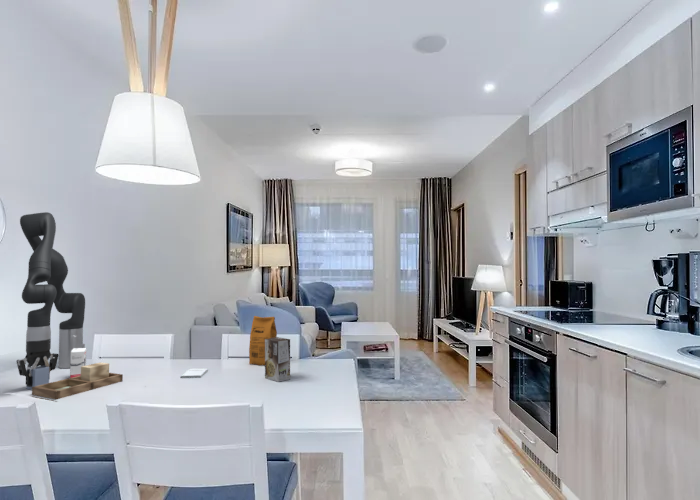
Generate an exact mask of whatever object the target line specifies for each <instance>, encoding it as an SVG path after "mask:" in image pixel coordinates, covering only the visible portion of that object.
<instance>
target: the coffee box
mask: <svg viewBox="0 0 700 500" xmlns="http://www.w3.org/2000/svg"><path fill="white" fill-rule="evenodd" d="M264 378H265V379H267V380H270V381H275V382H277V383H279V382H283V381H287V380H290V379H291V339H289V338H285V337H278V336H277V337H274V338H269V339H265V365H264Z"/></svg>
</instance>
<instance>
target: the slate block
mask: <svg viewBox="0 0 700 500" xmlns="http://www.w3.org/2000/svg"><path fill="white" fill-rule="evenodd" d="M32 376H33V384H32V387H35V386H39V385H43V384H47V383H50V379H49V367H41V366H37V367H36V369H35V370H33V374H32ZM25 386H26V389H27V390H31V391H32V387H28V386H27V385H26V384H25Z"/></svg>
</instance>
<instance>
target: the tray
mask: <svg viewBox="0 0 700 500" xmlns="http://www.w3.org/2000/svg"><path fill="white" fill-rule="evenodd" d="M123 376H124V375H123V374H121V373H115V372H109V377H108V378H104V379H100V380H96V381H92V382H90V381H84V380H81V376H77V377H72V378H70V377H68V378H65V379H61V380H55V381H51V382H49V383H47V384H43V385H39V386H35V387H32V390H31V395H32V396H31V398H36V399H41V400H47V401H50V402H51V401H52V402H56V403H57V402H58V400H59V399H63V398H67V397H71V396H74V395H78V394H82V393H85V392H89V391H93V390H96V389H100V388H103V387H107V386H110V385H114V384H117V383H122V382H123V378H124V377H123ZM52 399H54V400H52Z"/></svg>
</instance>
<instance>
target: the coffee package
mask: <svg viewBox="0 0 700 500" xmlns="http://www.w3.org/2000/svg"><path fill="white" fill-rule="evenodd" d="M275 320H276V317H275V316H264V317H261V316H257V315H254V316H253V320H252V323H251V331H250V334H249V335H250V336H249V347H248V355H249V356H248V357H249V361H248V362H249V363H248V365H258V366H265V339H269V338H274V337H278V336H277V335H278V332H277V326H276V321H275Z"/></svg>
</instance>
